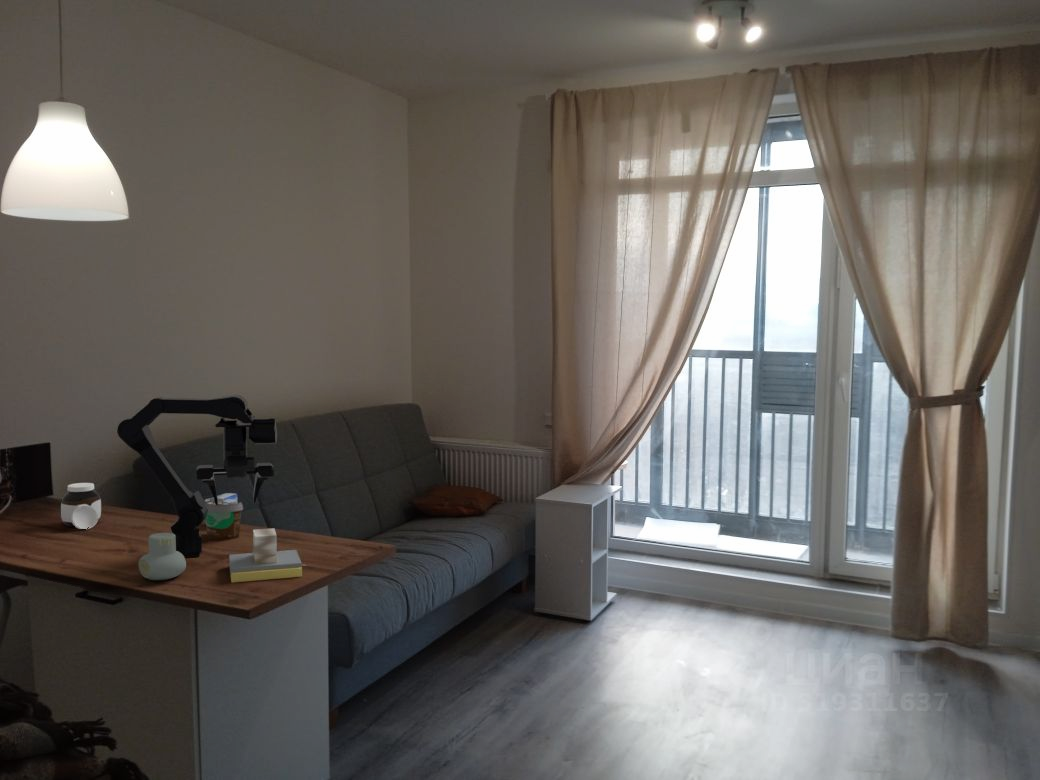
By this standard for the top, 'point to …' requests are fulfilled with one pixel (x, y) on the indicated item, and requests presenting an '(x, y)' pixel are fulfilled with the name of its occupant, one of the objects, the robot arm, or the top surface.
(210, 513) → the food container
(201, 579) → the top surface
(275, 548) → the white milk carton
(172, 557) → the air freshener
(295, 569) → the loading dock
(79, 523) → the spread jar
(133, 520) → the top surface
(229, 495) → the medicine box
